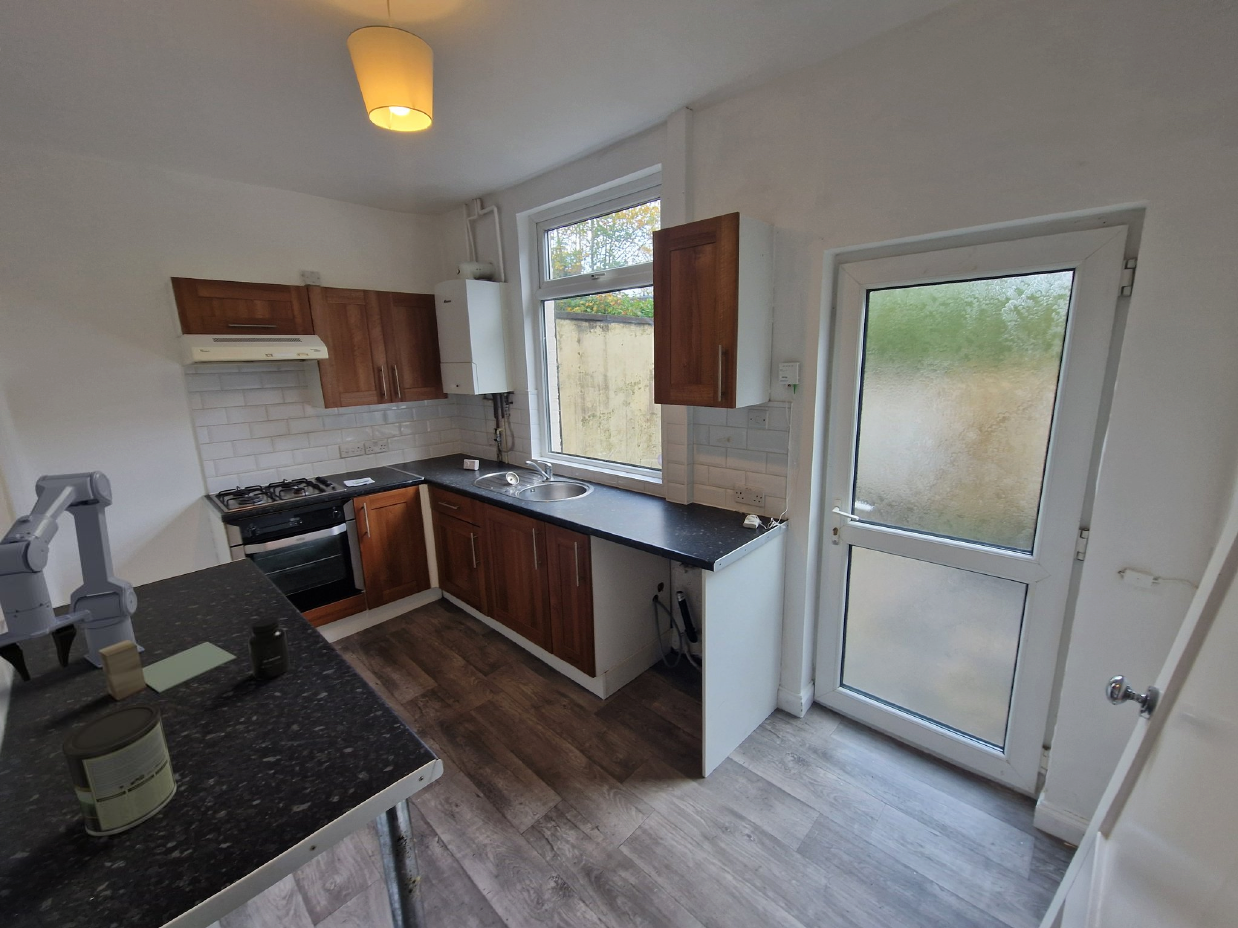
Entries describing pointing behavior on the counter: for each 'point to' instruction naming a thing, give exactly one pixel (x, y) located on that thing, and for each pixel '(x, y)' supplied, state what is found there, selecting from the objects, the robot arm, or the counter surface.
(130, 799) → the coffee can
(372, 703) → the counter surface
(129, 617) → the robot arm
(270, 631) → the supplement bottle
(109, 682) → the maple block
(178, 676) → the mat
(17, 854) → the counter surface
